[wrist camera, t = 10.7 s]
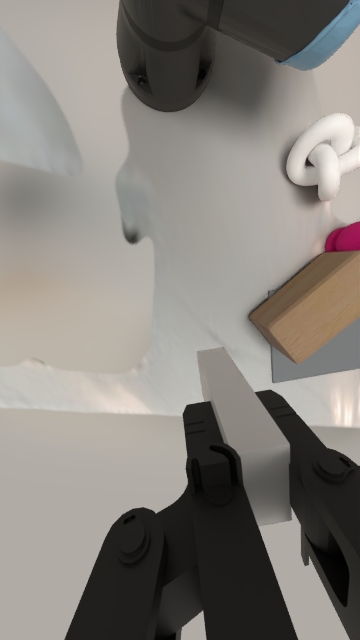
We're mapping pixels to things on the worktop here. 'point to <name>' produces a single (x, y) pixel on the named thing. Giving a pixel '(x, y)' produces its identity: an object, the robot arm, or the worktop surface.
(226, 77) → the worktop surface
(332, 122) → the white decorative knot
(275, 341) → the block
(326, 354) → the mat
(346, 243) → the pepper mill
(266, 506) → the robot arm
